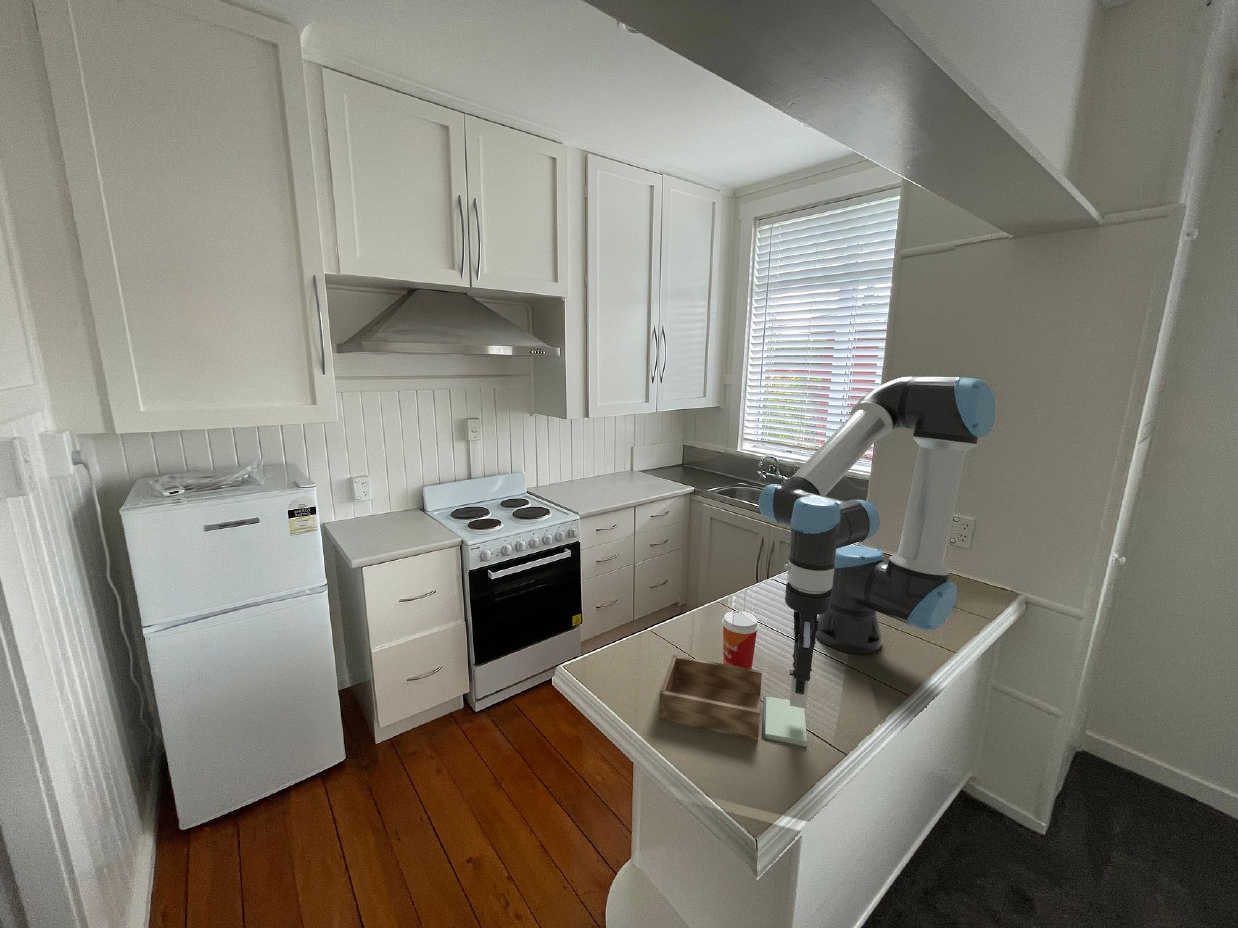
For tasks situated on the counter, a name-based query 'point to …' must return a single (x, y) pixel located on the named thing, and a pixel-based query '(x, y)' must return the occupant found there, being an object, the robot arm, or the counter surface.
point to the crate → (712, 696)
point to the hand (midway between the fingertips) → (797, 704)
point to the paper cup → (739, 638)
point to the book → (783, 721)
